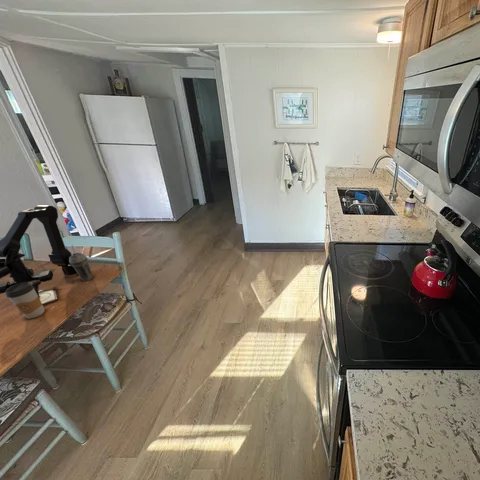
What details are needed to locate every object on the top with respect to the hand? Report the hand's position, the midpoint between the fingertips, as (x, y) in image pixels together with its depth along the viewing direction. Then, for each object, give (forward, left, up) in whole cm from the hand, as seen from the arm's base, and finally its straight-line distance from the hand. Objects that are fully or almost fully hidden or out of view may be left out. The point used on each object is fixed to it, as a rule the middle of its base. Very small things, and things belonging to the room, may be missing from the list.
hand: (34, 296), depth 129 cm
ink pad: (+9, -25, -2) cm, 27 cm away
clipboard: (-2, +1, -2) cm, 3 cm away
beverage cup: (-17, -12, -2) cm, 21 cm away
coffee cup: (-6, +13, -2) cm, 14 cm away
